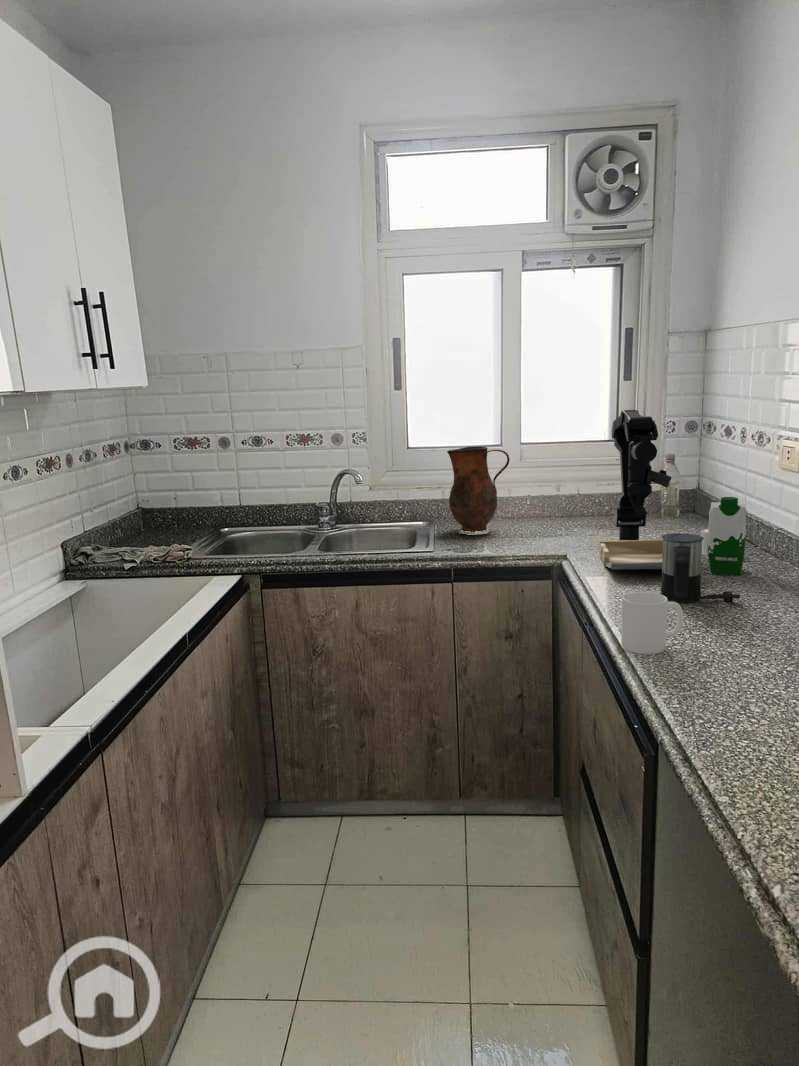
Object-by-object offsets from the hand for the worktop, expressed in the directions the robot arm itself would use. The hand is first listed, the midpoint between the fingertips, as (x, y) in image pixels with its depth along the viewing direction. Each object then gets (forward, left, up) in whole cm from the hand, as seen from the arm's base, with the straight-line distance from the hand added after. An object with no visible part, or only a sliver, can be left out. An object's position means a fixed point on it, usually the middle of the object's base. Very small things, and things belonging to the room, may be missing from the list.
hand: (638, 516), depth 201 cm
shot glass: (+3, +22, -13) cm, 25 cm away
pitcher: (-52, -31, -13) cm, 62 cm away
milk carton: (+20, +14, -13) cm, 27 cm away
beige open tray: (+4, -1, -12) cm, 13 cm away
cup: (+62, -31, -13) cm, 70 cm away
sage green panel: (+9, -3, -11) cm, 14 cm away
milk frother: (+39, -6, -13) cm, 41 cm away
